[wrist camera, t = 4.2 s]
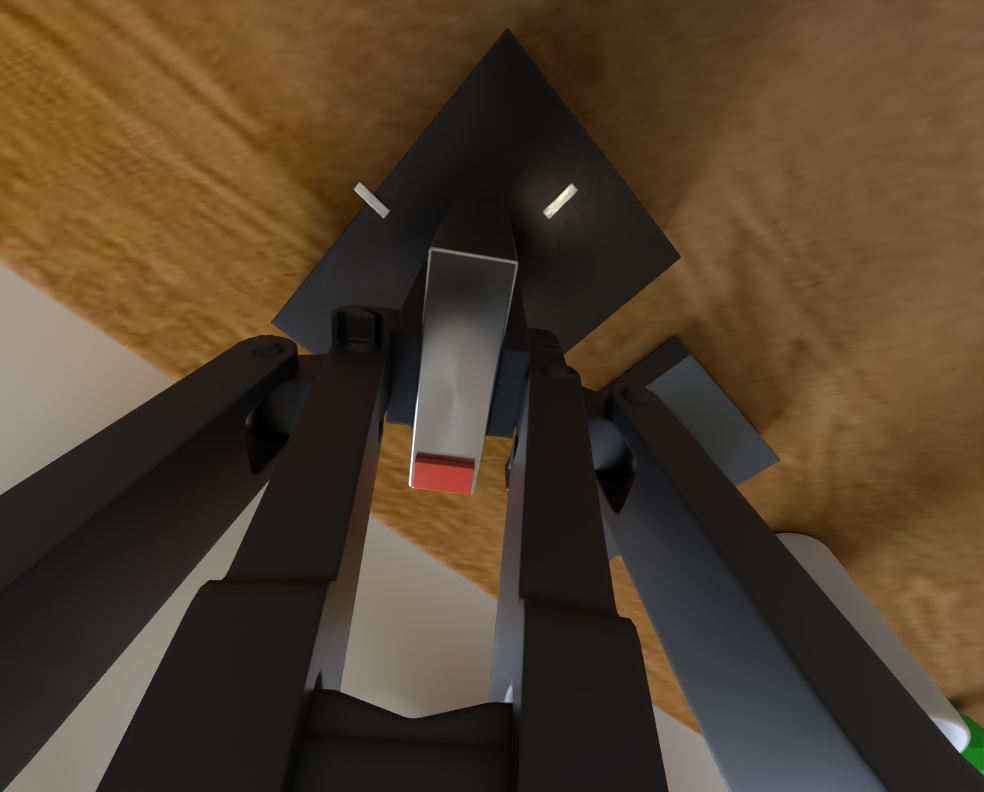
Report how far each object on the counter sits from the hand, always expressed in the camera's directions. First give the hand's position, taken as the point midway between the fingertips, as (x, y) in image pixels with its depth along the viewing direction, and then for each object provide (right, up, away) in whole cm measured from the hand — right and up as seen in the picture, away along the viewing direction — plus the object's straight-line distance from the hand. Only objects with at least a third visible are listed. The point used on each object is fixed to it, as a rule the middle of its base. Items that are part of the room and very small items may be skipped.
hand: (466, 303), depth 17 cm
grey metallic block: (0, +1, +1) cm, 1 cm away
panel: (0, +2, +4) cm, 4 cm away
